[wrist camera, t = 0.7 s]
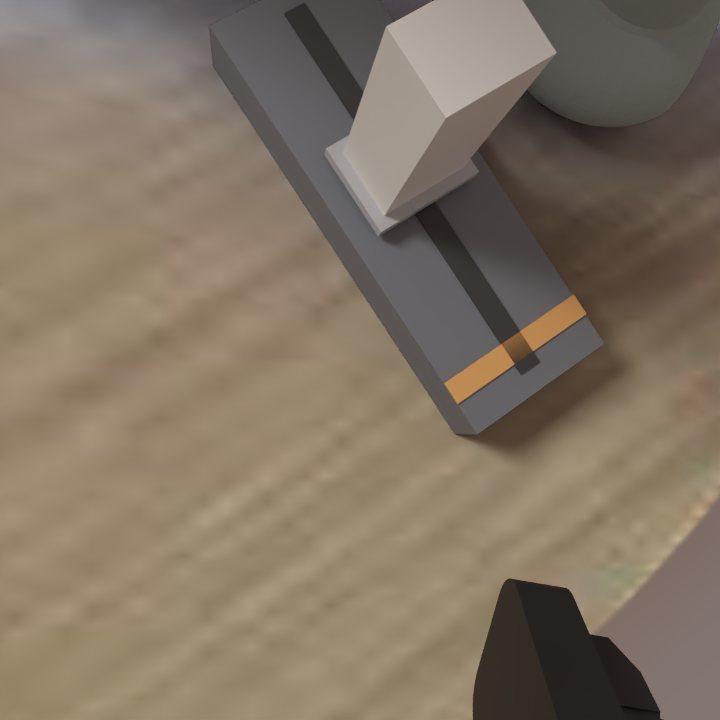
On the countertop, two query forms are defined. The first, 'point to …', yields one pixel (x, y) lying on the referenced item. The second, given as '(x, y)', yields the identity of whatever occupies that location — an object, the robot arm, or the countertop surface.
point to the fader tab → (435, 103)
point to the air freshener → (620, 56)
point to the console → (415, 234)
